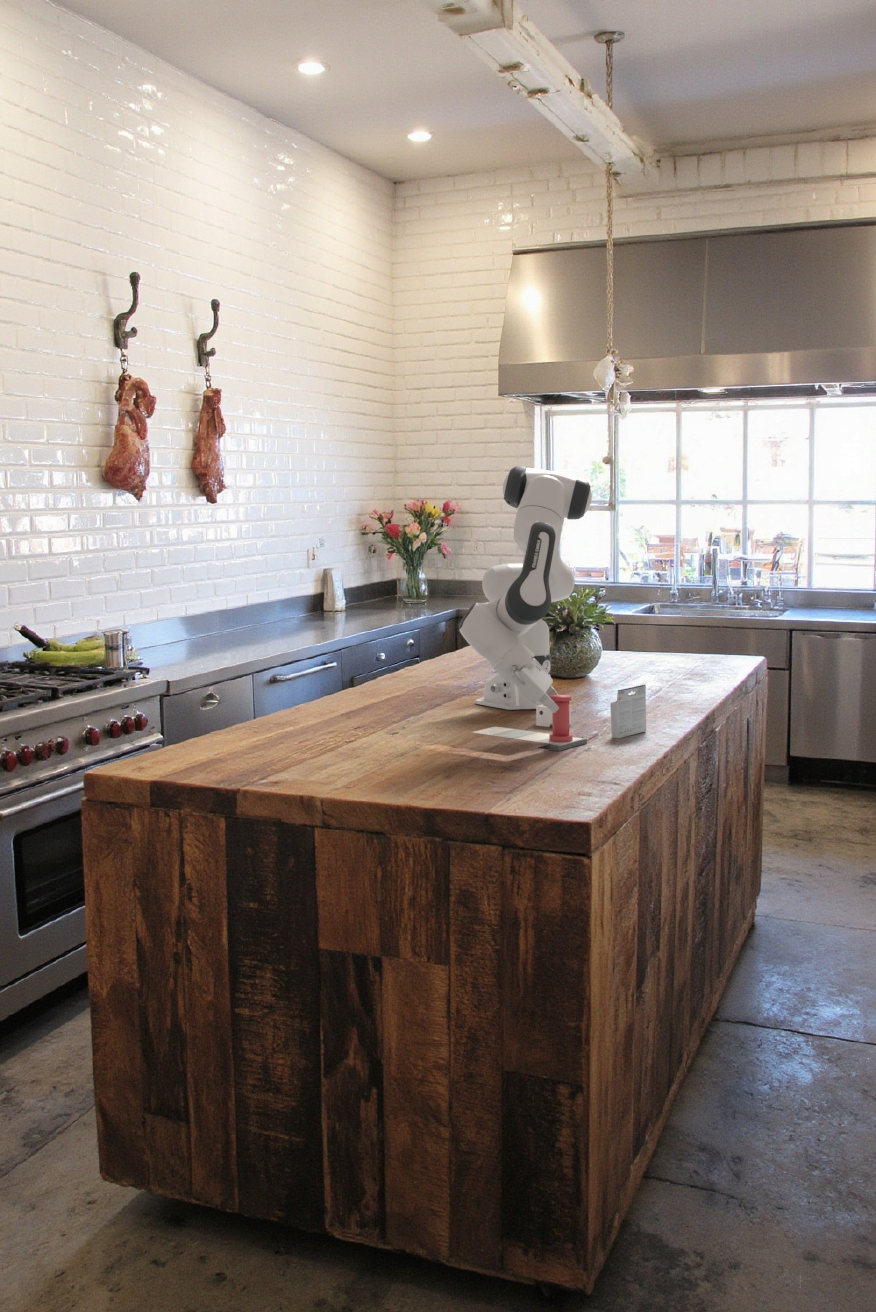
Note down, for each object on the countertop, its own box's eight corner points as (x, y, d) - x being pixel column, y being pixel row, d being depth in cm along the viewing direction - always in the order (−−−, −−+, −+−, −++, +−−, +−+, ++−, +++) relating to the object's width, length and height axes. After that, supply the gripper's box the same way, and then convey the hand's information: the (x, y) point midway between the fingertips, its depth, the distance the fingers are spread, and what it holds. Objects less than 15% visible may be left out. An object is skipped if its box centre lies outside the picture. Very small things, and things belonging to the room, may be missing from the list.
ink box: (638, 731, 278) (639, 683, 277) (646, 732, 276) (647, 684, 275) (609, 737, 270) (609, 688, 269) (617, 739, 268) (617, 689, 267)
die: (536, 730, 281) (536, 705, 280) (550, 726, 285) (550, 702, 285) (556, 733, 277) (556, 708, 276) (571, 729, 281) (571, 704, 281)
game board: (468, 737, 272) (468, 732, 272) (497, 730, 281) (497, 725, 281) (558, 751, 255) (558, 745, 255) (586, 743, 264) (586, 738, 264)
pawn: (544, 740, 261) (544, 696, 260) (558, 737, 265) (558, 693, 264) (563, 743, 258) (563, 698, 257) (577, 739, 262) (577, 695, 261)
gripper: (519, 659, 251) (565, 705, 250) (530, 648, 271) (572, 690, 270) (499, 679, 252) (544, 724, 251) (511, 667, 272) (553, 709, 271)
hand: (559, 707), depth 261 cm, fingers open, 8 cm apart
